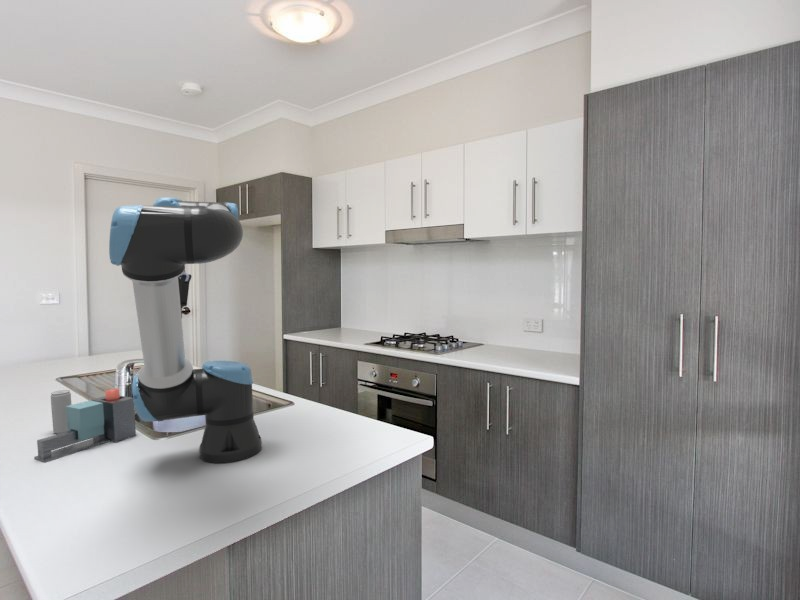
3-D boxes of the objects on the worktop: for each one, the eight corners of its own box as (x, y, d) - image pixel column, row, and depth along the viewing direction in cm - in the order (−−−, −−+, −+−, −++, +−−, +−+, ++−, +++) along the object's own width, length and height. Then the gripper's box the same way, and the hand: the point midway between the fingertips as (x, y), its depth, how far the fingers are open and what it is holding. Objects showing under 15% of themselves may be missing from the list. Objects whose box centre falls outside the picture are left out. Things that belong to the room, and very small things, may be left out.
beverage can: (62, 434, 135) (59, 394, 134) (48, 433, 136) (46, 393, 135) (77, 429, 139) (74, 390, 139) (63, 428, 140) (61, 389, 140)
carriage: (104, 433, 127) (102, 403, 126) (81, 441, 121) (79, 409, 121) (91, 430, 130) (89, 400, 129) (68, 437, 124) (65, 406, 124)
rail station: (135, 435, 133) (133, 397, 132) (50, 464, 113) (47, 420, 113) (115, 430, 137) (112, 394, 137) (29, 457, 118) (26, 415, 117)
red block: (122, 407, 133) (121, 389, 132) (110, 410, 130) (109, 392, 129) (115, 405, 134) (114, 388, 134) (103, 408, 131) (102, 390, 131)
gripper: (198, 250, 137) (201, 329, 139) (169, 252, 143) (173, 328, 145) (175, 250, 131) (179, 332, 132) (146, 251, 137) (150, 330, 138)
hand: (176, 330), depth 138 cm, fingers closed
